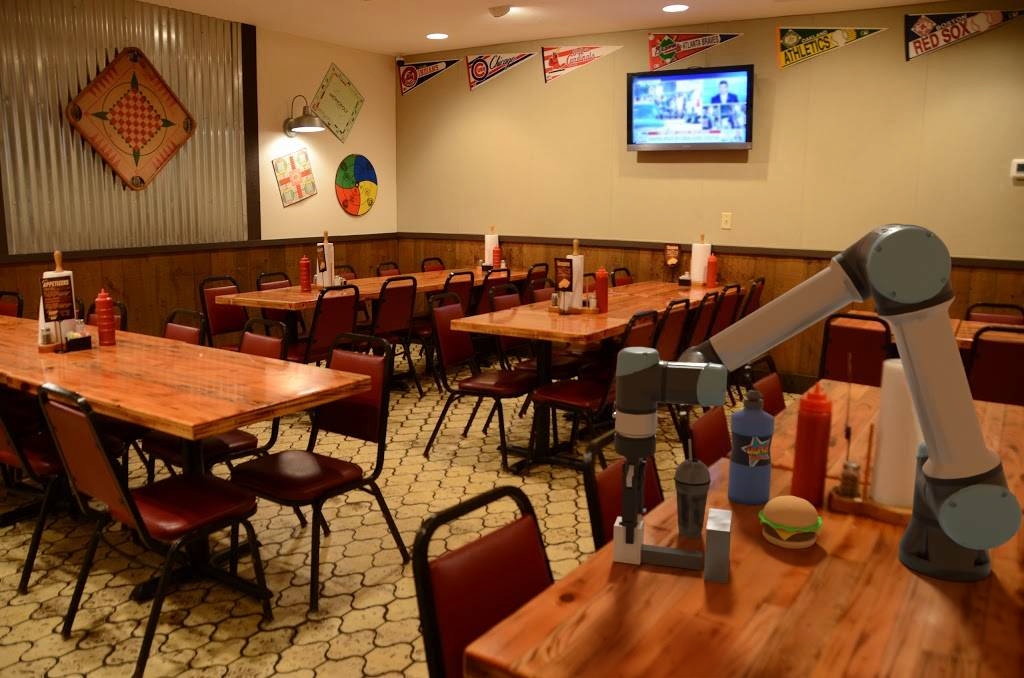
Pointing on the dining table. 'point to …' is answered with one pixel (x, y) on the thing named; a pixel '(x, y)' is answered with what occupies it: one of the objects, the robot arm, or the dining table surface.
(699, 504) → the beverage cup
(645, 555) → the beige and grey hammer
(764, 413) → the water bottle
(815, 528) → the hamburger
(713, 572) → the grey slab
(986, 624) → the dining table surface
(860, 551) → the dining table surface
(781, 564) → the dining table surface
